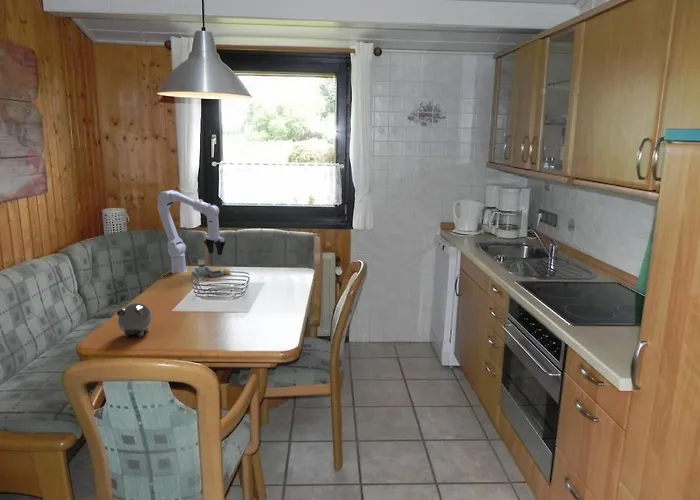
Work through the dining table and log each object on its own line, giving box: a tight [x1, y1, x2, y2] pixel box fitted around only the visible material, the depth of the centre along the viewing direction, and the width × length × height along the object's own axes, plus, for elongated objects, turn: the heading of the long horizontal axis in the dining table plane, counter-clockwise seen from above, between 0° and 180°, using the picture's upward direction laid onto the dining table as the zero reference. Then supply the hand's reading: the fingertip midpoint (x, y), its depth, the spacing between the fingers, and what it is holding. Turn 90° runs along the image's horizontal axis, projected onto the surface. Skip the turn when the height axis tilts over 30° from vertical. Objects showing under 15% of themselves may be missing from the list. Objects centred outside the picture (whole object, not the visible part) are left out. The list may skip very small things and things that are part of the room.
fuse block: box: [209, 268, 233, 279], centre depth 277 cm, size 8×10×3 cm
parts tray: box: [192, 266, 213, 277], centre depth 283 cm, size 10×8×2 cm
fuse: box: [197, 259, 206, 272], centre depth 283 cm, size 3×3×7 cm
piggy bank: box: [116, 302, 153, 338], centre depth 195 cm, size 11×15×12 cm
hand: (215, 253), depth 284 cm, fingers open, 7 cm apart
